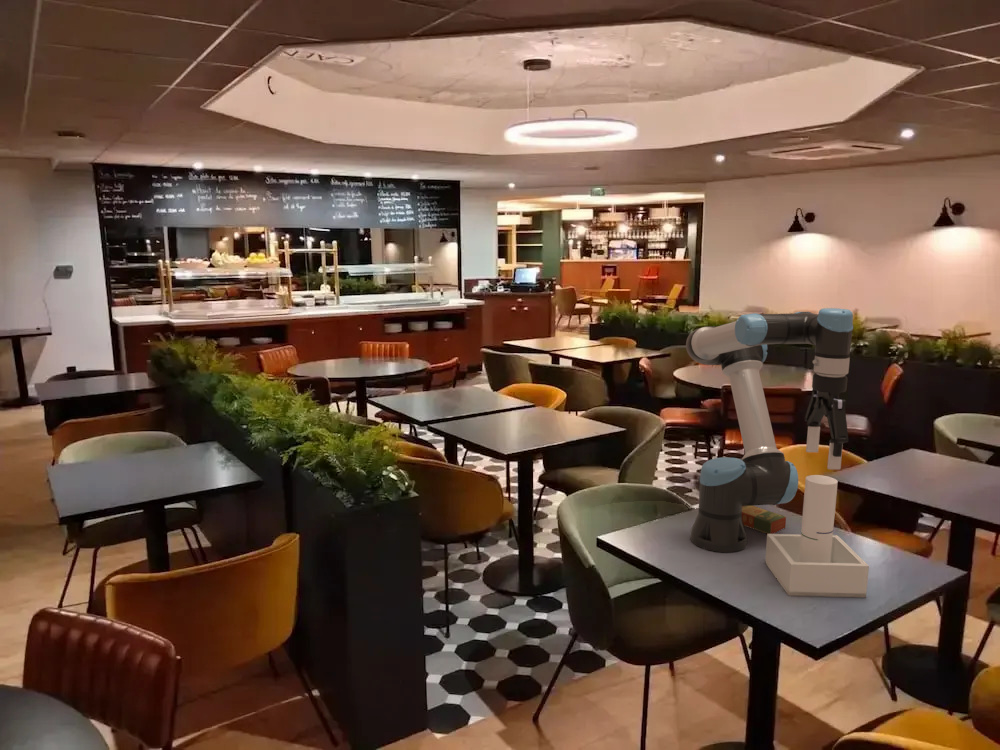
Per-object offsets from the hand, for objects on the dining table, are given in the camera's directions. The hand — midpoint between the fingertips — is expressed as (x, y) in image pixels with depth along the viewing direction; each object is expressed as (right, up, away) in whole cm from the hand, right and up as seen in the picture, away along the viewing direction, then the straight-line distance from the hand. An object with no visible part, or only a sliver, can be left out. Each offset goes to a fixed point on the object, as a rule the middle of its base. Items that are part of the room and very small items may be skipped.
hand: (822, 460), depth 175 cm
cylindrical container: (0, -30, +5) cm, 30 cm away
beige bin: (0, -30, +5) cm, 31 cm away
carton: (-2, -24, +41) cm, 48 cm away
